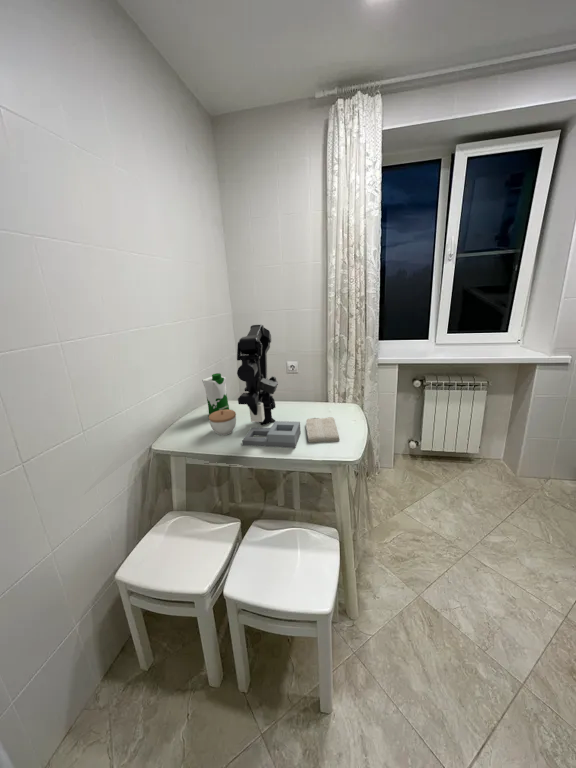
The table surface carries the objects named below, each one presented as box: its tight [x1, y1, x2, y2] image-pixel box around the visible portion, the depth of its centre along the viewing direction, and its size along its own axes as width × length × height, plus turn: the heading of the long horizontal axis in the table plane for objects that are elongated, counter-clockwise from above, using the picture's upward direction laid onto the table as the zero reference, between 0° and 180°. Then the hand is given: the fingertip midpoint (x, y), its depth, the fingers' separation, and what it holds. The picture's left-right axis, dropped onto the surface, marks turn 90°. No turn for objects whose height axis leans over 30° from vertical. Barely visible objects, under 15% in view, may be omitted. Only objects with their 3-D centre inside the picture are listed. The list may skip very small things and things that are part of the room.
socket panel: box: [241, 420, 302, 449], centre depth 111 cm, size 20×11×5 cm, turn 78°
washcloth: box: [305, 416, 340, 443], centre depth 115 cm, size 12×18×3 cm, turn 0°
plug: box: [248, 402, 265, 423], centre depth 109 cm, size 4×3×7 cm, turn 78°
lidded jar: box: [208, 409, 237, 436], centre depth 119 cm, size 11×11×9 cm
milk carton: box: [202, 372, 230, 416], centre depth 135 cm, size 9×9×20 cm
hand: (257, 413), depth 110 cm, fingers closed on plug, 3 cm apart
